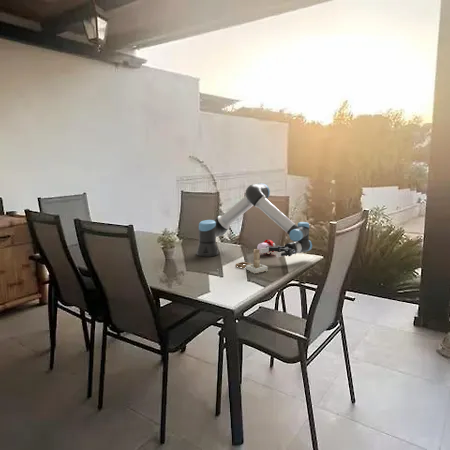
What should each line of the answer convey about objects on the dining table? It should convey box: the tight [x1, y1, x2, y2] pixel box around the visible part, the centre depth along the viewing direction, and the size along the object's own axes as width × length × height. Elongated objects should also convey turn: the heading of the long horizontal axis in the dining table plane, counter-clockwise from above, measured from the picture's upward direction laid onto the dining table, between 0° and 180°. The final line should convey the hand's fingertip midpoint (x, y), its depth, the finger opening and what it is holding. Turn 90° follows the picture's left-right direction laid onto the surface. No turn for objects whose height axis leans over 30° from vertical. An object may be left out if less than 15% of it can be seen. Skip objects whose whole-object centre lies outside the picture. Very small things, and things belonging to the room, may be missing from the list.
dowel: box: [253, 248, 261, 268], centre depth 230 cm, size 4×4×12 cm
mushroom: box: [256, 239, 276, 253], centre depth 270 cm, size 11×11×12 cm
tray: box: [245, 263, 269, 272], centre depth 231 cm, size 9×9×3 cm
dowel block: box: [235, 261, 252, 269], centre depth 240 cm, size 7×7×2 cm
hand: (268, 253), depth 235 cm, fingers open, 13 cm apart
